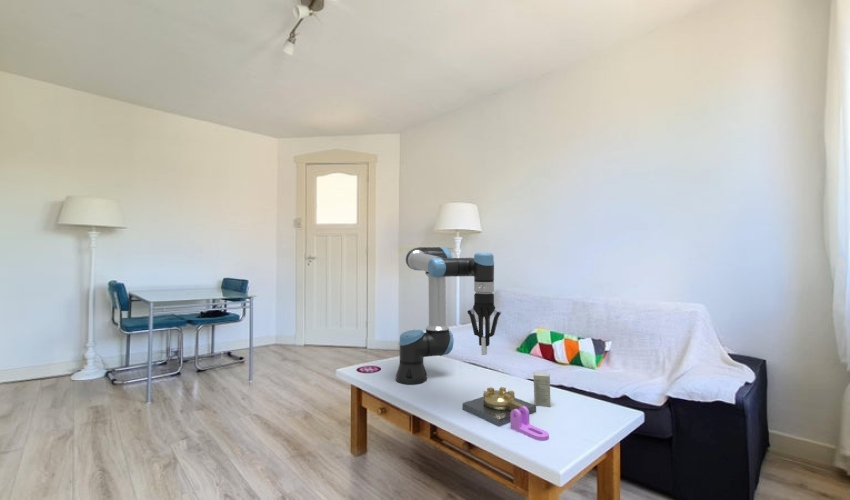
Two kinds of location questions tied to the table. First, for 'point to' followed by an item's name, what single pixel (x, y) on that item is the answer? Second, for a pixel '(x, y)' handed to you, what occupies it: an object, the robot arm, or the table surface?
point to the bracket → (526, 424)
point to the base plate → (493, 411)
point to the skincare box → (542, 389)
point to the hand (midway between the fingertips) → (484, 354)
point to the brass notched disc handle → (500, 399)
